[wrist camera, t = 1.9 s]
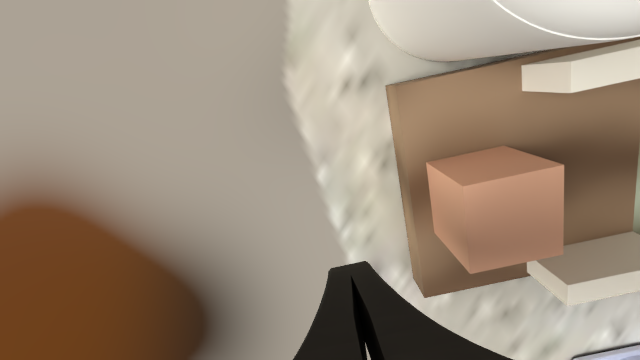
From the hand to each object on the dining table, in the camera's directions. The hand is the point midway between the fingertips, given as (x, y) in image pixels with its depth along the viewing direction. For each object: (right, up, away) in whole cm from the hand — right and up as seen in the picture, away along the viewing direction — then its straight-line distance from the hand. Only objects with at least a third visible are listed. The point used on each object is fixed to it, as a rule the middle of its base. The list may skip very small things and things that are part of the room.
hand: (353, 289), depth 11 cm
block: (+7, +3, +6) cm, 9 cm away
